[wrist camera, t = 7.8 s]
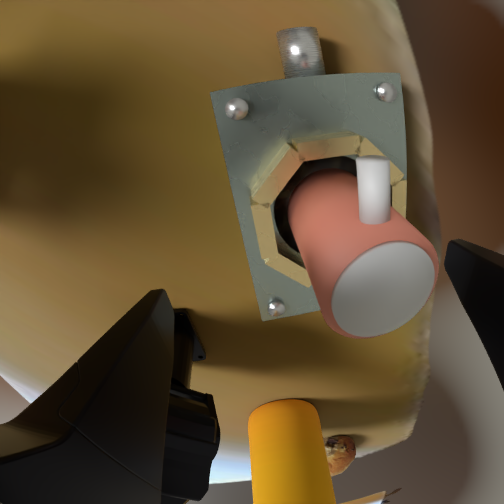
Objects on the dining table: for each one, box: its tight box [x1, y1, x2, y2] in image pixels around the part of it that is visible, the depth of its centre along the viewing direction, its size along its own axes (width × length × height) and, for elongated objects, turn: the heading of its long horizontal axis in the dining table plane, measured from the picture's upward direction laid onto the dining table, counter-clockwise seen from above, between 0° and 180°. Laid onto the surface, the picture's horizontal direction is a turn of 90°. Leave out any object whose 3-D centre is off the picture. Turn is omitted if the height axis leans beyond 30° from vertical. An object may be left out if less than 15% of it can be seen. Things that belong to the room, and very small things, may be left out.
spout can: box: [287, 155, 439, 339], centre depth 13 cm, size 7×5×8 cm
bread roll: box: [323, 436, 356, 476], centre depth 42 cm, size 10×10×8 cm
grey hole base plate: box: [210, 27, 407, 321], centre depth 18 cm, size 19×11×4 cm, turn 11°
